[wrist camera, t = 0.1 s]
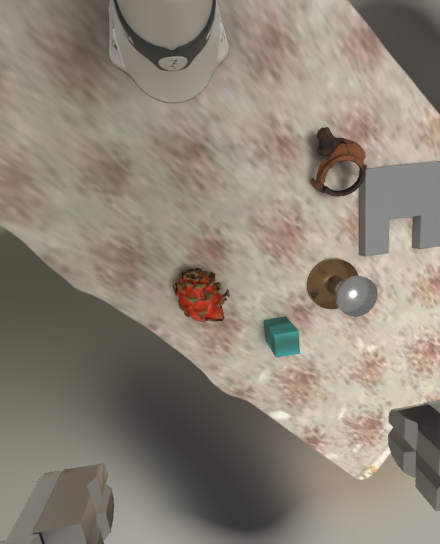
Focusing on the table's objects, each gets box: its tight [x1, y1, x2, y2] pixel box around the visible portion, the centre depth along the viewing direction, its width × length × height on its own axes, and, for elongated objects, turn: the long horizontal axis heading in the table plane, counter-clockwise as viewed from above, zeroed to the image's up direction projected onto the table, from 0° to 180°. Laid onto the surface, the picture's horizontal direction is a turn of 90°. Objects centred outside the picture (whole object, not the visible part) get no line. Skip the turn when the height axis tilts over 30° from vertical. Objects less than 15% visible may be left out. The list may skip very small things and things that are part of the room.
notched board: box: [359, 161, 440, 256], centre depth 57 cm, size 16×16×2 cm
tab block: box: [264, 317, 300, 357], centre depth 57 cm, size 4×4×7 cm
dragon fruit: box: [173, 268, 230, 322], centre depth 54 cm, size 8×8×12 cm
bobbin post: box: [307, 258, 377, 317], centre depth 55 cm, size 10×10×10 cm
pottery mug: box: [311, 127, 367, 196], centre depth 52 cm, size 12×10×8 cm
